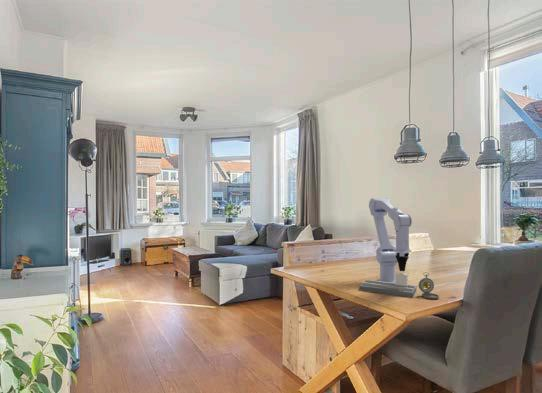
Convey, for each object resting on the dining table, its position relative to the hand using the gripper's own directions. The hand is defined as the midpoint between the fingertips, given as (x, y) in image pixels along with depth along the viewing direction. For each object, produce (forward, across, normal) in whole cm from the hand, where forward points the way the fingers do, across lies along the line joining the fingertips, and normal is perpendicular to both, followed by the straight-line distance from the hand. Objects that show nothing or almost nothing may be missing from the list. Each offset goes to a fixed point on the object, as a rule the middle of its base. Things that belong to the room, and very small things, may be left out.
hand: (402, 269), depth 159 cm
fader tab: (+7, +5, 0) cm, 9 cm away
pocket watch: (+10, +7, +11) cm, 17 cm away
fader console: (+9, +4, -6) cm, 12 cm away
